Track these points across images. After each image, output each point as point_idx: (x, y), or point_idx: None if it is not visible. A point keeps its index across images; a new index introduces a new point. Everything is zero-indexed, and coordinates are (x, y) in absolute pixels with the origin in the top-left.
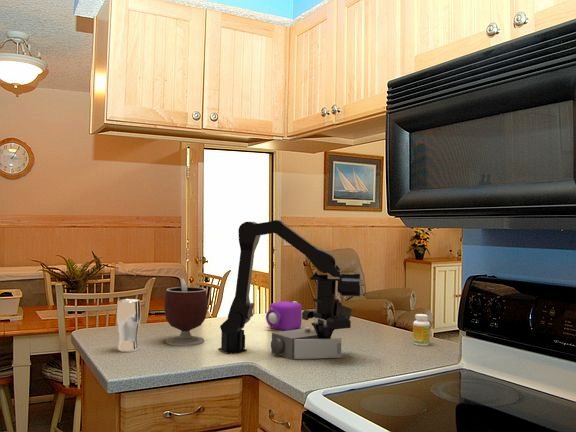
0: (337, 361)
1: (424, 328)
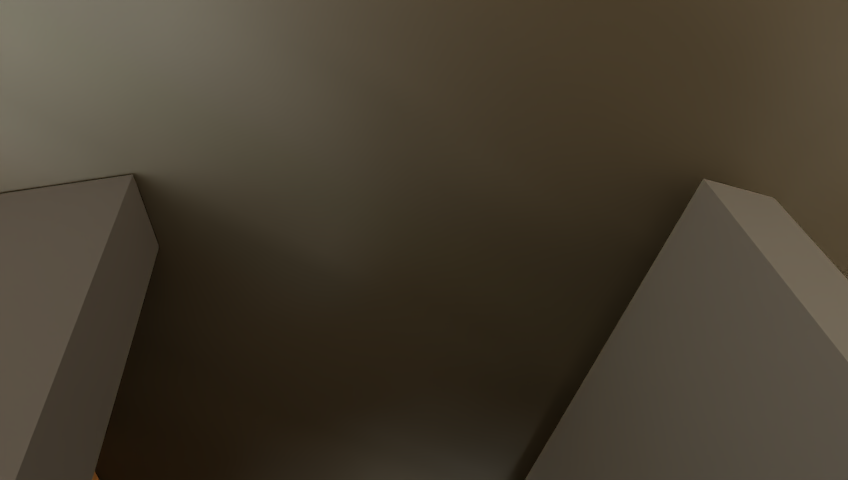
0: None
1: None
